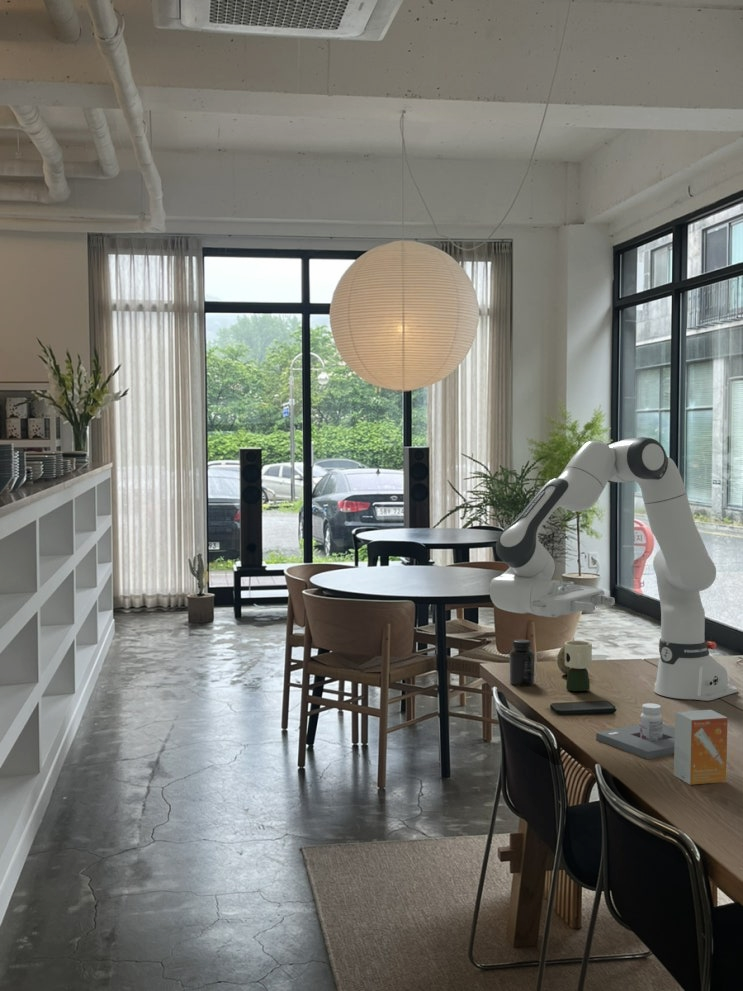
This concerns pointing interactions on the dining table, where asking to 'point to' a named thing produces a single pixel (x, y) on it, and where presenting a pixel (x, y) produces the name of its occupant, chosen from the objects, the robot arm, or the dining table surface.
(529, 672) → the supplement bottle
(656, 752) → the socket plate
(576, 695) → the dining table surface
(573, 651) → the character mug
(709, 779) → the small box
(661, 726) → the pill bottle
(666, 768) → the dining table surface
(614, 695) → the dining table surface
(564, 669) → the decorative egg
